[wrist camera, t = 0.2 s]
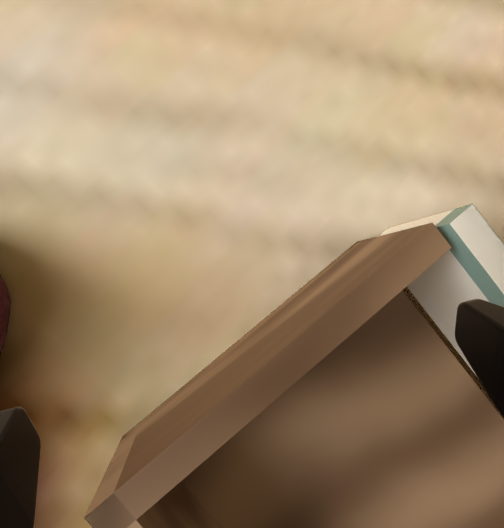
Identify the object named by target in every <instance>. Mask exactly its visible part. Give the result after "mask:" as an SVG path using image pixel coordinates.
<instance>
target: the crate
mask: <svg viewBox="0 0 504 528" xmlns="http://www.w3.org/2000/svg"><path fill="white" fill-rule="evenodd" d="M451 248H452V247H451V246H450V245H449V243H448V242H447V241H446V239H445V238H444V237H443V235H442V234H441V233H440V232H439V230H438V229H437V228H436V226H435V225H434V224H433V223H429V224H425V225H421V226H417V227H413V228H409V229H405V230H401V231H398V232H394V233H390V234H386V235H382V236H378V237H374V238H370V239H366V240H362V241H358V242H356V243H355V244H354V245H353V246H351V247H350V248H349V249H348V250H347V251H345V252H344V253H343V254H342V255H341V256H339V257H338V258H337V259H336V260H335V261H333V262H332V263H331V264H330V265H329V266H327V267H326V268H325V269H324V270H323V271H321V272H320V273H319V274H318V275H317V276H315V277H314V278H313V279H312V280H310V281H309V282H308V283H307V284H306V285H304V286H303V287H302V288H301V289H300V290H298V291H297V292H296V293H295V294H294V295H292V296H291V297H290V298H289V299H288V300H286V301H285V302H284V303H283V304H282V305H280V306H279V307H278V308H277V309H276V310H274V311H273V312H272V313H271V314H270V315H268V316H267V317H266V318H265V319H264V320H262V321H261V322H260V323H259V324H258V325H256V326H255V327H254V328H253V329H252V330H250V331H249V332H248V333H247V334H245V335H244V336H243V337H242V338H241V339H239V340H238V341H237V342H236V343H235V344H233V345H232V346H231V347H230V348H229V349H227V350H226V351H225V352H224V353H223V354H221V355H220V356H219V357H218V358H217V359H215V360H214V361H213V362H212V363H211V364H209V365H208V366H207V367H206V368H205V369H203V370H202V371H201V372H200V373H199V374H197V375H196V376H195V377H194V378H193V379H191V380H190V381H189V382H188V383H187V384H185V385H184V386H183V387H182V388H180V389H179V390H178V391H177V392H176V393H174V394H173V395H172V396H171V397H170V398H168V399H167V400H166V401H165V402H164V403H162V404H161V405H160V406H159V407H158V408H156V409H155V410H154V411H153V412H152V413H150V414H149V415H148V416H147V417H146V418H144V419H143V420H142V421H141V422H140V423H138V424H137V425H136V426H135V427H134V428H132V429H131V430H130V431H129V432H128V433H126V434H125V435H124V436H123V437H122V439H121V441H120V443H119V445H118V447H117V449H116V451H115V454H114V456H113V458H112V460H111V462H110V464H109V466H108V468H107V470H106V473H105V475H104V477H103V479H102V481H101V483H100V485H99V487H98V489H97V492H96V494H95V496H94V498H93V500H92V502H91V504H90V506H89V508H88V511H87V513H86V515H85V517H84V518H85V519H86V521H87V522H88V523H89V524H90V525H91V526H92V528H504V419H503V418H502V416H501V415H500V414H499V413H498V411H497V410H496V409H495V407H494V406H493V405H492V404H491V402H490V401H489V400H488V399H487V397H486V396H485V395H484V393H483V392H482V391H481V390H480V388H479V387H478V386H477V384H476V383H475V382H474V381H473V379H472V378H471V377H470V376H469V374H468V373H467V372H466V370H465V369H464V368H463V367H462V365H461V364H460V363H459V361H458V360H457V359H456V358H455V356H454V355H453V354H452V352H451V351H450V350H449V349H448V347H447V346H446V345H445V344H444V342H443V341H442V340H441V338H440V337H439V336H438V335H437V333H436V332H435V331H434V329H433V328H432V327H431V326H430V324H429V323H428V322H427V321H426V319H425V318H424V317H423V315H422V314H421V313H420V312H419V310H418V309H417V308H416V306H415V305H414V304H413V303H412V301H411V300H410V299H409V297H408V296H407V295H406V294H405V292H404V291H403V289H404V288H405V287H407V286H408V285H409V284H410V283H411V282H412V281H414V280H415V279H416V278H417V277H418V276H419V275H421V274H422V273H423V272H424V271H425V270H426V269H427V268H429V267H430V266H431V265H432V264H433V263H434V262H436V261H437V260H438V259H439V258H440V257H441V256H443V255H444V254H445V253H446V252H447V251H448V250H450V249H451Z"/></svg>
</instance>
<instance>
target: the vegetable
mask: <svg viewBox="0 0 504 528" xmlns="http://www.w3.org/2000/svg"><path fill="white" fill-rule="evenodd" d="M10 302H11V301H10V297H9V294H8V289H7V287H6V285H5V283H4V281H3V280H2V278H1V276H0V354H1V350H2V347H3V344H4V339H5V335H6V332H7V325H8V318H9V312H10Z"/></svg>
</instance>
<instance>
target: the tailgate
mask: <svg viewBox="0 0 504 528" xmlns="http://www.w3.org/2000/svg"><path fill="white" fill-rule="evenodd" d="M429 223H433V224H434V225H435V226H436V228H437V229H438V230H439V232H440V233H441V234H442V235H443V237H444V238H445V239H446V241H447V242H448V243H449V245H450V246H451V247H452V248H451V249H450V250H448V251H447V252H446V253H445V254H444V255H443V256H441V257H440V258H439V259H438V260H437V261H436V262H434V263H433V264H432V265H431V266H430V267H429V268H427V269H426V270H425V271H424V272H423V273H422V274H421V275H419V276H418V277H417V278H416V279H415V280H414V281H412V282H411V283H410V284H409V285H408V286H407V288H408V289H409V290H410V292H411V293H412V294H413V295H414V297H415V298H416V299H417V301H418V302H419V303H420V304H421V306H422V307H423V308H424V310H425V311H426V312H427V313H428V315H429V316H430V317H431V318H432V320H433V321H434V322H435V324H436V325H437V326H438V327H439V329H440V330H441V331H442V333H443V334H444V335H445V336H446V338H447V339H448V340H449V342H450V343H451V344H452V345H453V347H454V348H455V349H456V351H457V352H458V353H459V354H460V356H461V357H462V358H463V359H464V361H465V362H466V363H467V365H468V366H469V367H470V368H471V370H472V371H473V369H472V367H471V366H470V364H469V362H468V361H467V359H466V358H465V356H464V354H463V353H462V351H461V349H460V348H459V346H458V344H457V342H456V339H455V325H456V315H457V308H458V305H459V304H460V303H462V302H465V301H469V300H473V299H482V300H485V301H487V302H490V303H493V304H496V305H499V306H502V307H504V244H503V243H502V241H501V240H500V239H499V237H498V236H497V235H496V233H495V232H494V231H493V229H492V228H491V227H490V226H489V224H488V223H487V222H486V220H485V219H484V218H483V216H482V215H481V214H480V212H479V211H478V210H477V209H476V207H475V206H474V205H473V204H470V205H467V206H463V207H460V208H456V209H454V210H450V211H447V212H443V213H440V214H436V215H433V216H429V217H426V218H422V219H419V220H415V221H412V222H408V223H405V224H401V225H398V226H394V227H391V228H388V229H387V230H385V231H384V232H383V233H382V234H381V235H379V236H382V235H386V234H390V233H394V232H398V231H401V230H405V229H409V228H413V227H417V226H421V225H425V224H429ZM473 372H474V371H473ZM474 374H475V372H474ZM475 375H476V374H475Z"/></svg>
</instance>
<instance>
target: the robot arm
mask: <svg viewBox="0 0 504 528" xmlns="http://www.w3.org/2000/svg"><path fill="white" fill-rule="evenodd" d="M455 339H456V342H457V344H458V346H459V348H460V349H461V351H462V353H463V354H464V356H465V358H466V359H467V361H468V362H469V364H470V366H471V367H472V369H473V371H474V372H475V374H476V376H477V377H478V379H479V381H480V382H481V384H482V385H483V387H484V389H485V390H486V392H487V394H488V395H489V397H490V398H491V400H492V401H493V403H494V405H495V406H496V407H497V409H498V410H499V411H500V413H501V414H502V415H503V417H504V307H502V306H499V305H496V304H493V303H490V302H487V301H485V300H482V299H473V300H469V301H465V302H462V303H460V304H459V305H458V308H457V315H456V325H455ZM39 458H40V438H39V435H38V432H37V431H36V429H35V427H34V425H33V423H32V421H31V420H30V418H29V416H28V414H27V412H26V411H25V409H24V408H22V407H14V408H9V409H5V410H1V411H0V528H33V525H34V517H35V507H36V494H37V482H38V470H39Z"/></svg>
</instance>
